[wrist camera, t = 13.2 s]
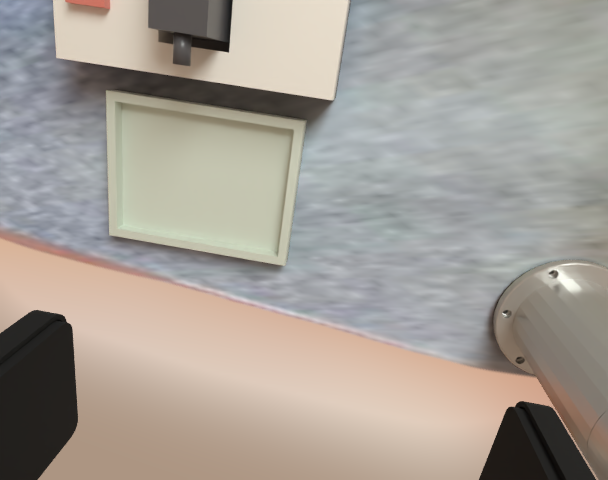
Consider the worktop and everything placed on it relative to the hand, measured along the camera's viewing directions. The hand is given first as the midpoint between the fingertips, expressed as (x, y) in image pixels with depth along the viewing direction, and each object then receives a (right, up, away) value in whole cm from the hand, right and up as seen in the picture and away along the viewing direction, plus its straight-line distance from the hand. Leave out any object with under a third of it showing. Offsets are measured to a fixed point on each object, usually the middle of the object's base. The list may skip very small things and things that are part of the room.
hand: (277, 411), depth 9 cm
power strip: (-7, +23, +27) cm, 36 cm away
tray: (-9, +10, +32) cm, 35 cm away
